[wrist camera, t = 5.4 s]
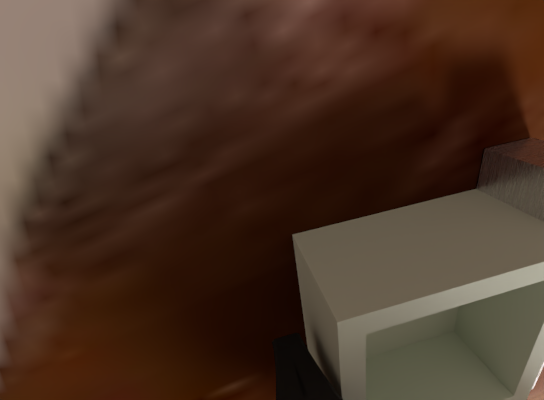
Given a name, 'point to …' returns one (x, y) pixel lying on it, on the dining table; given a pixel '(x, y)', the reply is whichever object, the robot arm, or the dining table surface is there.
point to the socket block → (426, 301)
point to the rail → (515, 177)
